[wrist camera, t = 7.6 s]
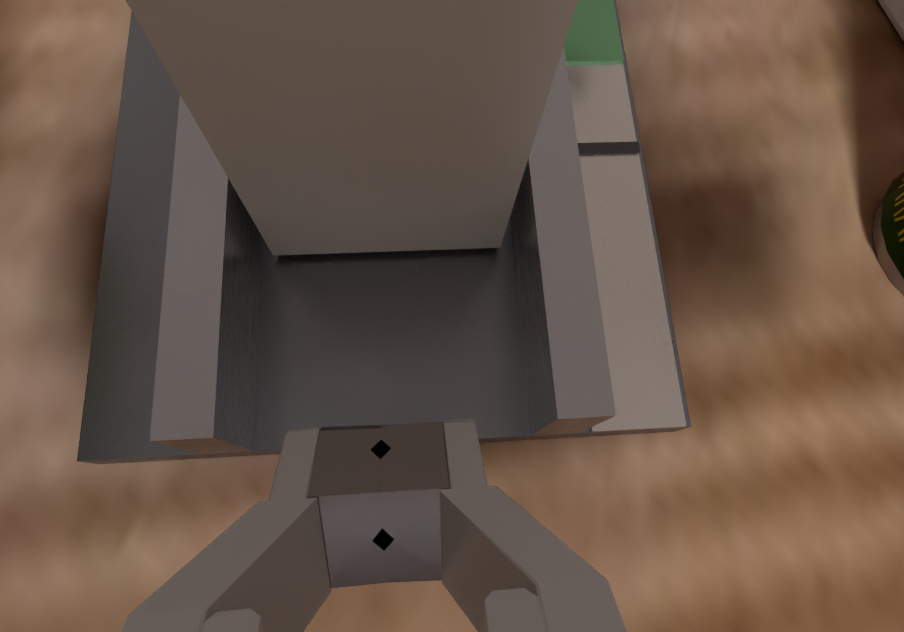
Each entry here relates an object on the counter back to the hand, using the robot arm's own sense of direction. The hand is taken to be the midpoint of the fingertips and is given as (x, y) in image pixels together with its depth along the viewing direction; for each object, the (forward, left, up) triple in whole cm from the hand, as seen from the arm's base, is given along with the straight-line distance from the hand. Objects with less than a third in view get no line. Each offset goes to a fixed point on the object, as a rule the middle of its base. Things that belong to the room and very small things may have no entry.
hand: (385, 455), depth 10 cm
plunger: (+2, +10, -5) cm, 11 cm away
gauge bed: (0, +10, -6) cm, 11 cm away
